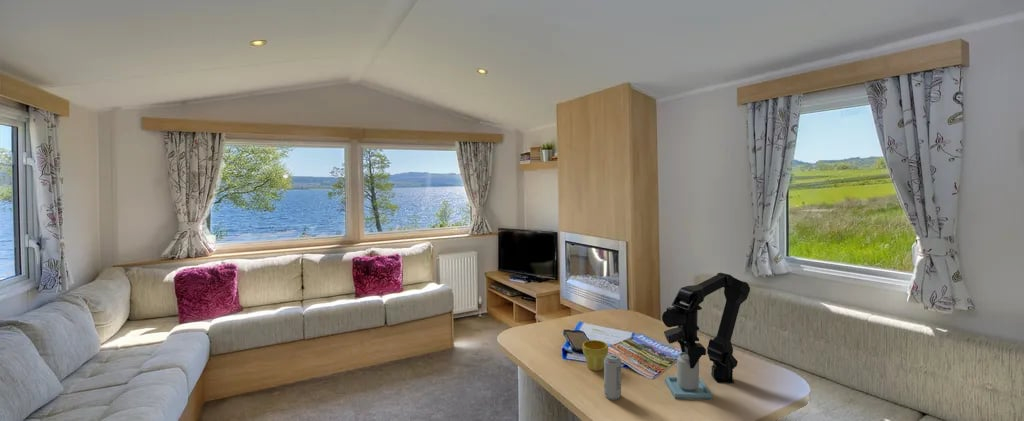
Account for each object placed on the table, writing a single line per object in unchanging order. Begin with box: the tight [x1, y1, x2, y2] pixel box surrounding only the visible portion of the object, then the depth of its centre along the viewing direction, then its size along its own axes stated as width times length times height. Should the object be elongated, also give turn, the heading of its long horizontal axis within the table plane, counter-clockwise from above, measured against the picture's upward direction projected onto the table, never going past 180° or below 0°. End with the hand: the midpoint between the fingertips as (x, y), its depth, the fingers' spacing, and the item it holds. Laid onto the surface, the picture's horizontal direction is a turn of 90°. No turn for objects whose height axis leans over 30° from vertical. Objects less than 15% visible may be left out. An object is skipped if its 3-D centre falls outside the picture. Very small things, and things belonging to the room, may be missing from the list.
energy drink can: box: [603, 353, 622, 401], centre depth 154 cm, size 6×6×15 cm
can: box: [676, 351, 700, 390], centre depth 158 cm, size 8×8×12 cm
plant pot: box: [582, 339, 609, 372], centre depth 177 cm, size 10×10×10 cm
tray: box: [664, 375, 714, 400], centre depth 158 cm, size 13×13×2 cm
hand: (688, 363), depth 157 cm, fingers closed on can, 7 cm apart
